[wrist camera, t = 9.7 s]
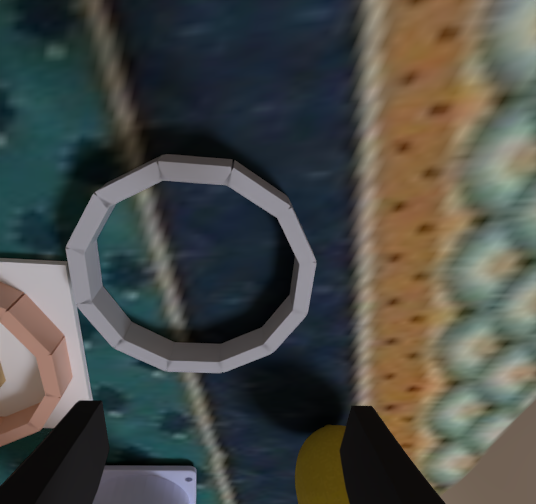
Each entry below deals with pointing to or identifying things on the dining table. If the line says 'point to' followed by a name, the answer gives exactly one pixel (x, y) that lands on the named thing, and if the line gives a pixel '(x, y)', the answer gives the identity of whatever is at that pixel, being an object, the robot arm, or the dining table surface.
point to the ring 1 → (47, 355)
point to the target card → (21, 359)
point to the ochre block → (1, 376)
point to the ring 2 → (149, 343)
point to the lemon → (321, 468)
